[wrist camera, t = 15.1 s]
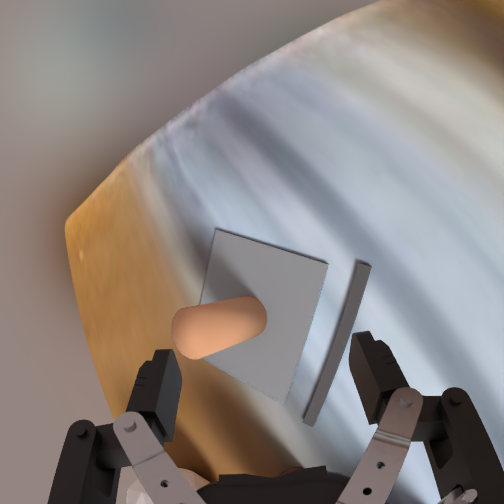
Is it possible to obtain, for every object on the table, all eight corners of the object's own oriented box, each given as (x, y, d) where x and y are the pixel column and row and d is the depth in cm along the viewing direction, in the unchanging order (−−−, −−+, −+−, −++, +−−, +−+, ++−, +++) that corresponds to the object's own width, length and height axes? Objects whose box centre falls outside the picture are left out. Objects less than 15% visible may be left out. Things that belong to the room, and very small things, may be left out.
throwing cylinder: (237, 289, 34) (176, 299, 27) (272, 305, 32) (214, 321, 24) (228, 326, 35) (168, 344, 27) (260, 343, 33) (204, 368, 25)
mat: (219, 221, 36) (217, 221, 36) (371, 266, 27) (370, 266, 26) (191, 357, 39) (189, 357, 39) (313, 425, 29) (312, 426, 29)
